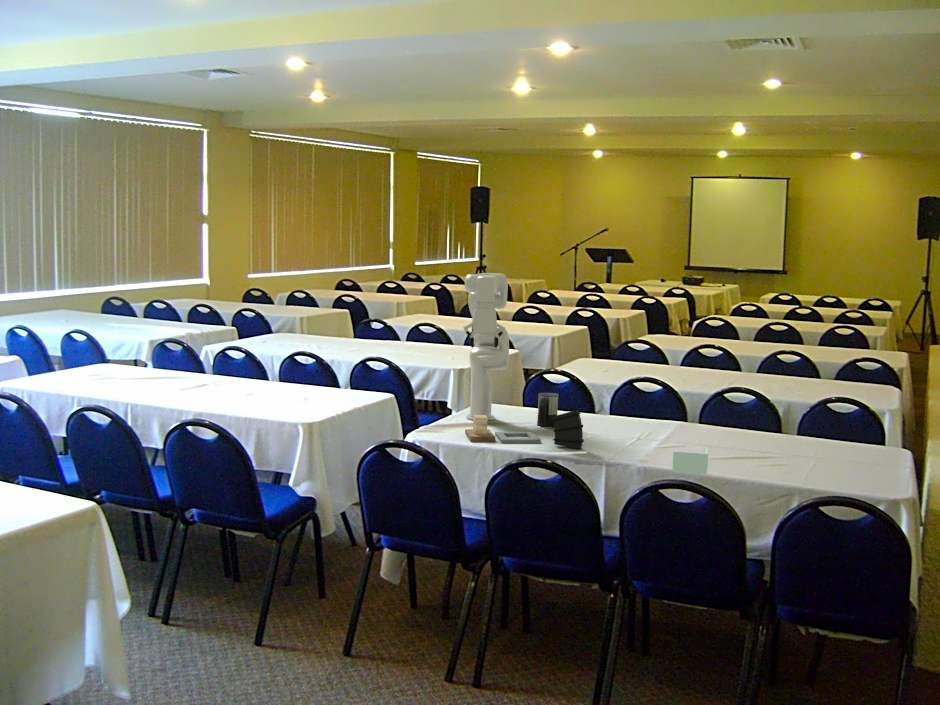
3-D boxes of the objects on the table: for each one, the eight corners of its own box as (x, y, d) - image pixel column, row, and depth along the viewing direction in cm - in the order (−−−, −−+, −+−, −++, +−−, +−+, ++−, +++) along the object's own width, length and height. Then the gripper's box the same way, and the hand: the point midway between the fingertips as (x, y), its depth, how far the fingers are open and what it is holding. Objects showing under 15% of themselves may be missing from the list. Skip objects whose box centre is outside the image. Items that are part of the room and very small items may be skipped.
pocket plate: (494, 435, 421) (494, 431, 421) (532, 435, 423) (532, 431, 423) (501, 443, 405) (501, 439, 405) (540, 443, 407) (540, 439, 407)
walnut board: (465, 434, 422) (465, 429, 422) (488, 434, 423) (488, 429, 423) (470, 441, 406) (470, 436, 406) (495, 441, 408) (495, 436, 407)
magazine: (587, 447, 395) (576, 410, 395) (557, 455, 400) (546, 418, 401) (590, 445, 398) (579, 409, 399) (560, 453, 404) (549, 417, 404)
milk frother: (536, 425, 447) (537, 391, 446) (572, 426, 446) (573, 393, 445) (536, 431, 433) (538, 396, 431) (573, 432, 432) (575, 398, 431)
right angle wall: (707, 467, 373) (708, 447, 372) (706, 474, 361) (707, 454, 360) (674, 465, 376) (675, 445, 375) (672, 472, 364) (673, 451, 363)
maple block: (473, 431, 417) (473, 415, 416) (485, 431, 417) (485, 415, 417) (474, 434, 412) (475, 417, 411) (487, 434, 412) (487, 417, 412)
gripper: (504, 305, 423) (502, 346, 425) (463, 305, 420) (461, 346, 422) (507, 307, 416) (506, 348, 417) (465, 306, 413) (464, 348, 415)
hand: (483, 347), depth 420 cm, fingers open, 9 cm apart
